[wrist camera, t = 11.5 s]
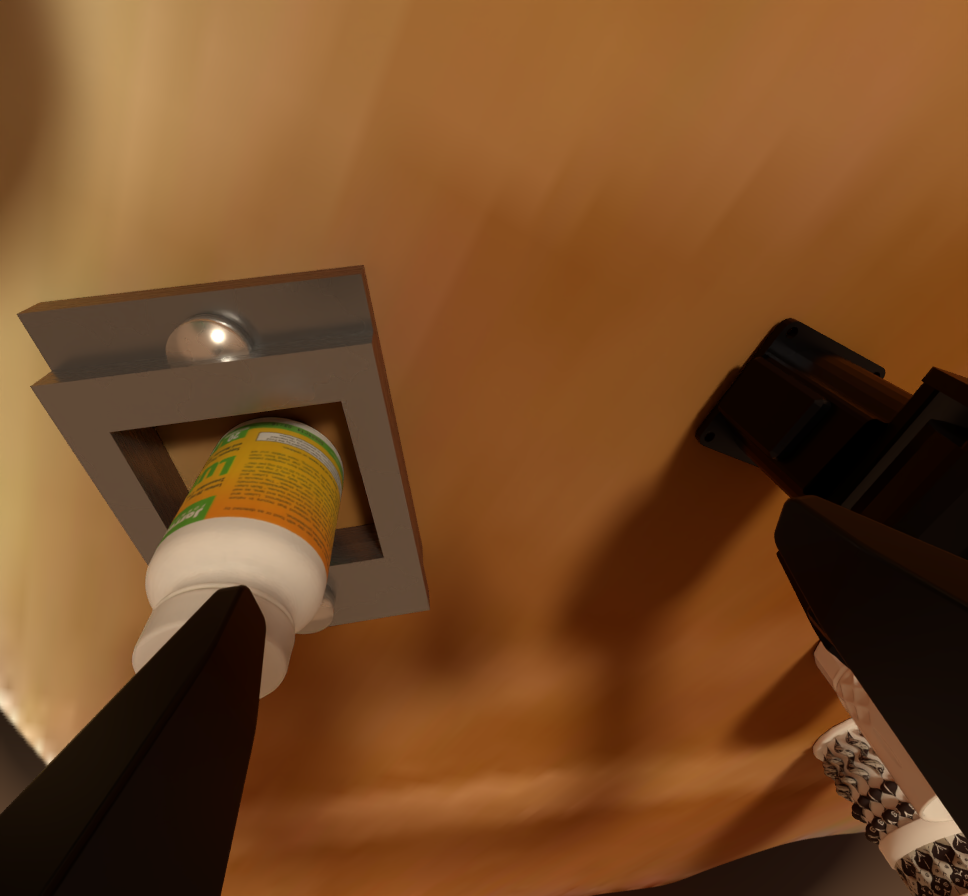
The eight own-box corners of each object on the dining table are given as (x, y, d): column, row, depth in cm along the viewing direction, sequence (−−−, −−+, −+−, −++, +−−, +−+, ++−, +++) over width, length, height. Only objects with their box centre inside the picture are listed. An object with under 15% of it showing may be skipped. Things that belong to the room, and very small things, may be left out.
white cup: (911, 645, 38) (1052, 790, 30) (810, 684, 39) (918, 834, 31) (911, 588, 34) (1076, 739, 26) (798, 634, 35) (920, 792, 27)
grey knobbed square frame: (39, 302, 17) (-28, 336, 14) (363, 264, 18) (356, 290, 15) (217, 606, 26) (196, 662, 23) (427, 573, 27) (430, 623, 24)
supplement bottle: (239, 391, 20) (126, 579, 12) (365, 445, 22) (344, 635, 14) (197, 488, 22) (78, 702, 14) (316, 528, 24) (272, 734, 16)
